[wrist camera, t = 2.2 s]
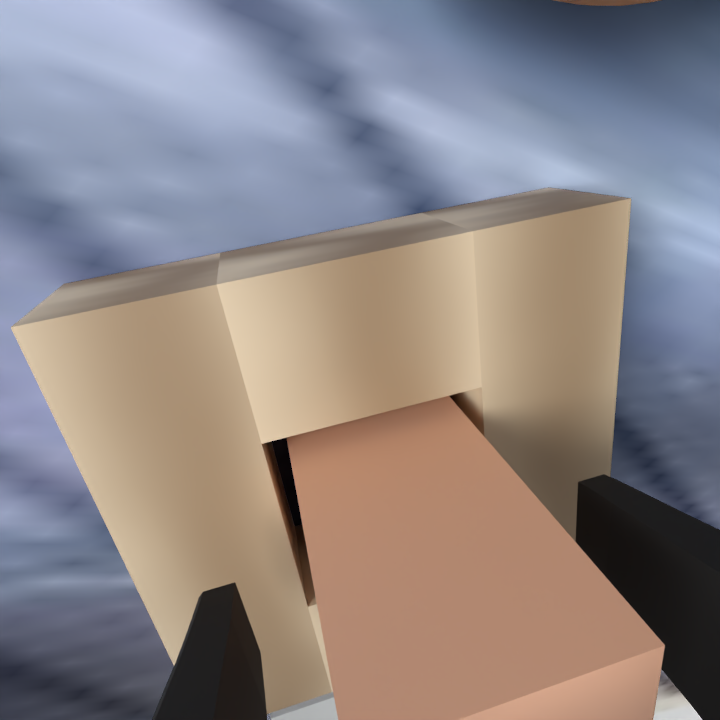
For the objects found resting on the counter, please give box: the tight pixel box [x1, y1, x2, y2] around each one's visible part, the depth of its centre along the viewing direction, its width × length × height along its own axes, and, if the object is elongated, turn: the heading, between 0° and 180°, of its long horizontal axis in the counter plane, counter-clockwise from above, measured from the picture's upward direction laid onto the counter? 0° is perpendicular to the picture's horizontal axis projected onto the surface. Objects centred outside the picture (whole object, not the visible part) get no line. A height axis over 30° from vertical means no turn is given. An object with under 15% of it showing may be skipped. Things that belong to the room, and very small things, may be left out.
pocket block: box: [11, 188, 631, 714], centre depth 13 cm, size 12×12×3 cm
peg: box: [286, 396, 665, 720], centre depth 11 cm, size 4×4×9 cm
